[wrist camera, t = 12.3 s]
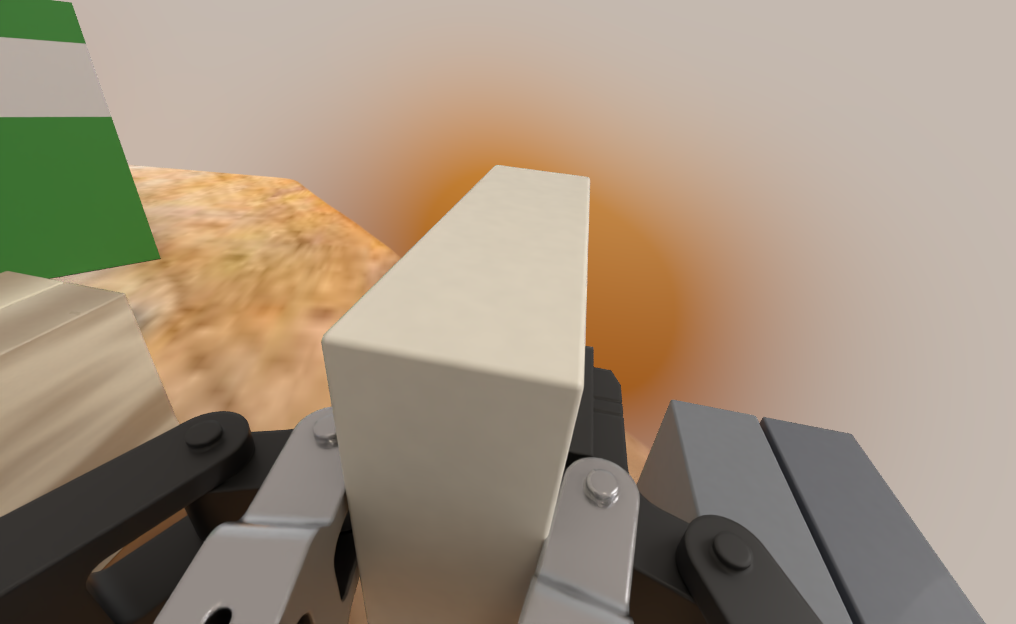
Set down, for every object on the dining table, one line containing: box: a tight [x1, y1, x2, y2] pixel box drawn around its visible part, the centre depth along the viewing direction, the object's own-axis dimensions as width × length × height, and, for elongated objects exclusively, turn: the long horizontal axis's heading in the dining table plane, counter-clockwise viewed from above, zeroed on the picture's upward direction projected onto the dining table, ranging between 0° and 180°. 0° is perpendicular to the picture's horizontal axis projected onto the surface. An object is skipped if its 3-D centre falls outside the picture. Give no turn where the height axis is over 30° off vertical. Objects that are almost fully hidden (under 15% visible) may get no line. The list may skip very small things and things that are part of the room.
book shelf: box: [0, 271, 187, 573], centre depth 18 cm, size 17×14×13 cm
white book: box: [321, 165, 590, 624], centre depth 12 cm, size 3×10×12 cm, turn 170°
